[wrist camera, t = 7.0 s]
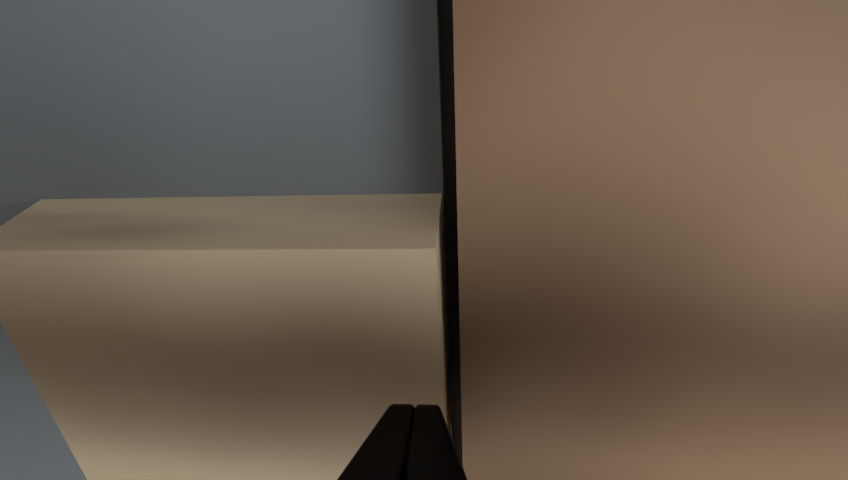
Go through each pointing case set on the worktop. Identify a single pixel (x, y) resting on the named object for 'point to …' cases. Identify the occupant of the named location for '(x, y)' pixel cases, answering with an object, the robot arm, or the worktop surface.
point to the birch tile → (227, 327)
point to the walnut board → (652, 238)
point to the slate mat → (205, 124)
